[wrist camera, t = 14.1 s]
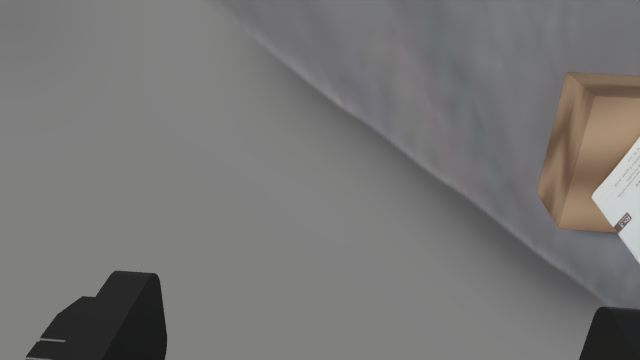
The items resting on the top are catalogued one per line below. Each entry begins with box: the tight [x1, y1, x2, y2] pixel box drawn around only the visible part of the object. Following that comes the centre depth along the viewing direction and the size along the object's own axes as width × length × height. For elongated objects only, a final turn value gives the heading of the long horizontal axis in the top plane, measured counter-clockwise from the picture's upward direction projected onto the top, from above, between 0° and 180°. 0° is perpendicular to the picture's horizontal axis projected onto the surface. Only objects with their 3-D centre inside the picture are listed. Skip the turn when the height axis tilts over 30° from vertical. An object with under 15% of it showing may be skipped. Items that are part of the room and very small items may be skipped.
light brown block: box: [537, 72, 640, 232], centre depth 43 cm, size 11×11×6 cm
